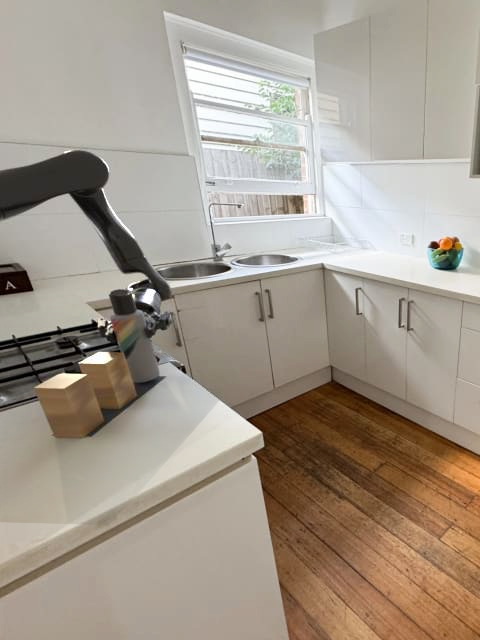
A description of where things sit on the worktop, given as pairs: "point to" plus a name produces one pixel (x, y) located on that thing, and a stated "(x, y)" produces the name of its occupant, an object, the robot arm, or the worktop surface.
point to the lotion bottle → (133, 336)
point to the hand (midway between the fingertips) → (130, 336)
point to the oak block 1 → (70, 405)
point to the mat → (140, 391)
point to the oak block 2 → (109, 379)
